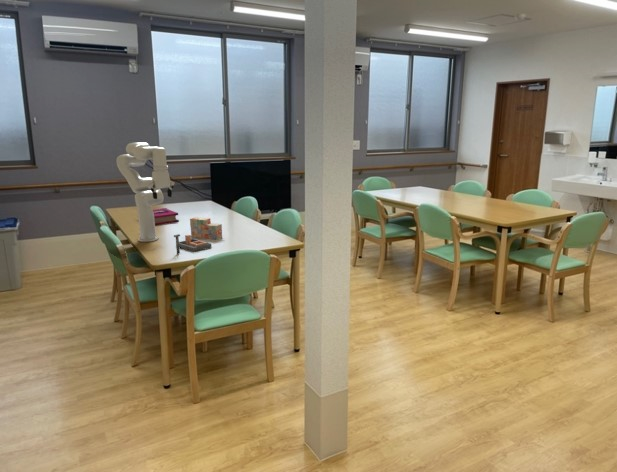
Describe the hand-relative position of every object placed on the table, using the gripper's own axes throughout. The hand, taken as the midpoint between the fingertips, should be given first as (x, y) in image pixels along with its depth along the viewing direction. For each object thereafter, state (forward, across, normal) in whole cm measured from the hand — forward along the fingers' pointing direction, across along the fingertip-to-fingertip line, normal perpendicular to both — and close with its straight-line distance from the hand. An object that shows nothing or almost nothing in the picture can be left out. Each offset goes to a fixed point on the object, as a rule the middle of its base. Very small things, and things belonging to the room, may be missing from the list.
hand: (162, 197), depth 278 cm
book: (+32, -40, -71) cm, 87 cm away
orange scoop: (+29, -9, +16) cm, 34 cm away
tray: (+30, -10, +15) cm, 35 cm away
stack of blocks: (+30, -30, 0) cm, 43 cm away
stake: (+30, +5, +19) cm, 36 cm away
